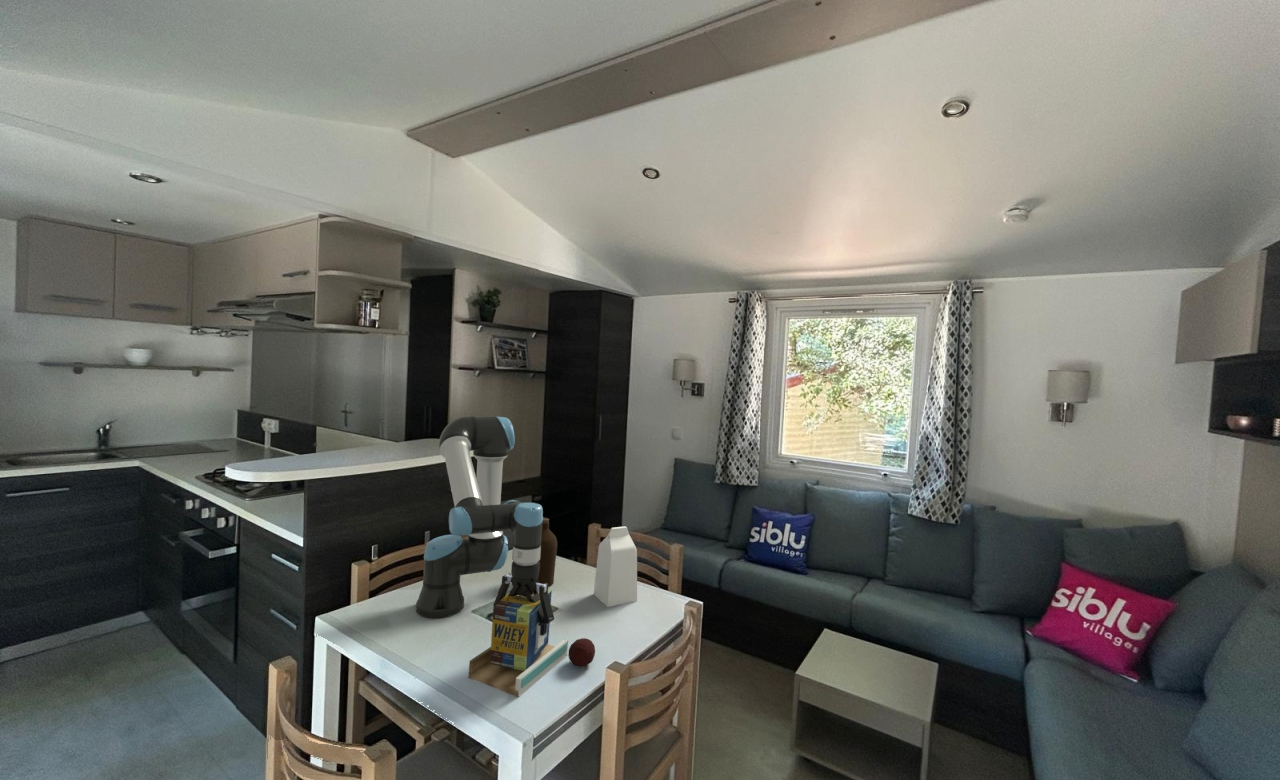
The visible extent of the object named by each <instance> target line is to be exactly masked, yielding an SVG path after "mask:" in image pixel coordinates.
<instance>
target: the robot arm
mask: <svg viewBox="0 0 1280 780" xmlns="http://www.w3.org/2000/svg"><path fill="white" fill-rule="evenodd" d="M514 431H515V430H514V426H513V424H512V422H511V420H510V419H509V418H508V417H504V416H496V415H495V416H489V415H488V416H486V415H485V416H481V415H480V416H479V415H478V416H477V415H476V416H471V415H464V416H459V417H457V418H455V419H453V420H451V421H450V423H448V424H447V425H446V426H445V427H444V429H443V431H442V432H441V434H440V437H439V442H438V447H439V453H440V454H441V456H442V457H443V459H444V460H445V461H444V462H445V464H446V465H445V466H446V470H447V476H448V480H449V486H450V489H451V491H450V492H451V495H452V500H453V504H454V507H453V508H451V509H450V510H449V515H448V528H449V532H450V534H445V535H441V536H437V537H435V538H433V539H431V540H430V541H428V542H427V544H426V545H425V548H424V555H423V560H424V561H423V578H422V587H421V591H420V593H419V596H418V598H417V601H416V604H415V612H416V614H417V615H418V616H420V617H424V618H428V619H429V618H430V619H439V618H447V617H449V616H451V617H452V616H454V615H456V614H458V613H460V612H461V611H462V610H463V609H464V607H465V597H464V595H463V589H462V586H461V577H462V576H465V575H472V574H479V573H486V572H487V573H489V572H493V571H497V570H500V569H502V568H503V567H504V565H505V564H506V562H507V558H508V554H509V546H508V545H509V541H508V537H507V536H506V535H504V532H507V531H508V532H509V531H511V532H513V536H512V538H513V541H512V553H511V554H512V557H511V560H512V562H511V570H510V571H511V573H507V574H505V575H503V576H501V585H500V587H499V589H498V592H497V594H496V597H495V600H494V602H493V605H492V606H494V605H496V604H497V603H498V602H499V601H500V600H502V599H503V598H504V597H505V596H506V595H507V594H508V595H509V596H514V595H516V594H517V595H522V596H524V597H527V598H528V600H529V601H530V602H533V603H536V602H538V601H539V600H540V601H541V605H540V606H539V608H538V615H537V618H538V620H539V623H537V629H536V647H535V648H537V649H538V648H539V647H540V646H542V645H543V644H544V635H545V634H546V632H547V624H548V623H551V622H552V621H554V619H555V615H554V611H553V608H552V602H551V603H550V598H549V594H548V590H549V587H548V584H547V583H545V584H541V583H539V582H538V576H539V570H540V562H539V560H540V554H541V535H542V521H543V518H544V516H543V514H544V511H543V510H544V509H543V506H542V505H541V504H539V503H536V502H521V501H520V500H515V499H512V500H511V499H510V500H507V501H506V502H504V503H502V504H501V501H502V496H501V495H502V483H503V466H504V460H505V459H507V458H508V456H509V451H511V450H514V447H515V446H514V445H515V442H516V441H515V440H516V439H515V432H514ZM471 451H473V452H472V453H473V454H472V456H473V457H474V458H475V459H476V460H477V462H476V472H475V468H474V464H473V461H472V456H471ZM462 536H467V538H463V537H462ZM510 585H512V588H511V589H510V590H509V588H510ZM537 588H538V591H537ZM508 590H509V593H508ZM538 592H539V593H538ZM533 593H534V595H533V596H532V594H533ZM539 597H540V598H539Z"/></svg>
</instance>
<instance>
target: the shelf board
mask: <svg viewBox="0 0 1280 780" xmlns="http://www.w3.org/2000/svg"><path fill="white" fill-rule="evenodd" d="M555 646H556V645H551V644H549V643H548V644H547V645H546V647H545V648H544V649H543V650H542V651H541V653H540V654H539V655H538V656H537V658H536V659H535V660H534V661H533V663H532V664H531V665H533V664H534V663H535V662H536V661H538V660H539V659H540V658H542V657H543V656H544V655H545V654H547V653H548V652H549V651H550V650H552V649H553V648H554V647H555ZM531 665H530V666H531ZM530 666H529V667H530ZM523 672H524V671H522V670H517V669H513V668H508V667H503V666H498V665H493V664H490V661H489V662H487V663H486V664H484V665H483V666H482V667H480V668H479V669H477V670H476V671H474V672H473V673H472V674H471V673H470V672H469V671H468V676H467V678H468V679H471V680H473V681H475V682H478V683H481V684H483V685H487V686H489V687H491V688H494V689H497V690H499V691H501V692H503V693H506V694H508V695H511V696H515V695H517V694H516V692H517V693H518V695H517V696H515V697H518V696H519V692H518V691H517V690H515V685H516V677H518V676H519V675H520V674H521V673H523ZM471 677H472V678H471ZM515 691H516V692H515ZM518 698H519V697H518Z"/></svg>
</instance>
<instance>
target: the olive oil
mask: <svg viewBox="0 0 1280 780" xmlns="http://www.w3.org/2000/svg"><path fill="white" fill-rule="evenodd" d="M549 521H550V519H549V518H548V517H543V521H542V535H541V554H540V560H539V562H540V570H539V576H538V582H539V583H541V584H545V583H547V584H548V588H549V587H551V586H553V585H554V582H555V572H556V571H555V570H556V569H555V568H556V559H557V552H558V540H557V536H556V535H555V534H554V533H553V531H552V530H550V522H549Z"/></svg>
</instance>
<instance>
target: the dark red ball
mask: <svg viewBox="0 0 1280 780" xmlns="http://www.w3.org/2000/svg"><path fill="white" fill-rule="evenodd" d="M568 648H569V649H568V654H567V657H568V660H569V661H570V663H571V664H572V665H573V667H576V668H584V667H587V666H589V664H591V663H592V662H593V661H594V658H595V655H596V647H595V644H594V642H593V641H592V640H590V639H589V638H582V637H581V638H579V639H575V641H573V643H571V645H570V646H569V647H568Z"/></svg>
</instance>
